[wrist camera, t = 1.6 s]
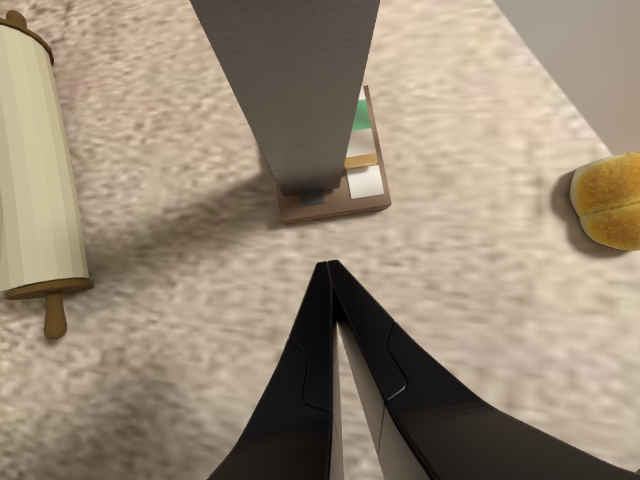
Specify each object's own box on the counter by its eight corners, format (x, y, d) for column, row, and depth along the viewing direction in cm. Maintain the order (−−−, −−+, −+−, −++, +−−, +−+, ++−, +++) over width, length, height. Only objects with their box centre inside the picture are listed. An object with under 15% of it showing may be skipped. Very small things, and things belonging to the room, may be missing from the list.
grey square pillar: (378, 182, 22) (589, -148, 5) (283, 196, 22) (145, -93, 5) (370, 141, 22) (533, -288, 5) (277, 154, 22) (135, -243, 5)
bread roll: (592, 262, 23) (649, 260, 19) (550, 176, 24) (595, 157, 20) (670, 234, 23) (741, 227, 19) (625, 151, 25) (683, 127, 21)
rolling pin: (116, 322, 22) (58, 336, 17) (55, 340, 22) (-21, 359, 17) (65, 28, 27) (7, -28, 22) (14, 41, 26) (-57, -12, 21)
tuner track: (387, 208, 24) (392, 203, 22) (284, 224, 23) (281, 220, 22) (364, 96, 25) (368, 84, 24) (268, 110, 25) (265, 98, 23)
